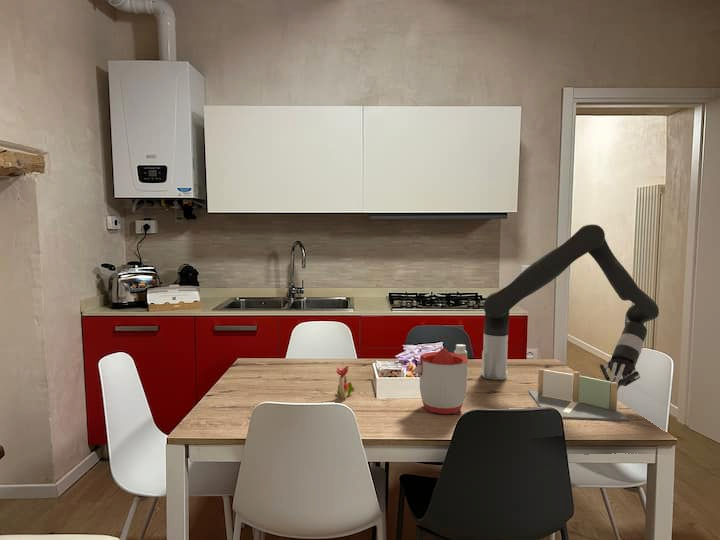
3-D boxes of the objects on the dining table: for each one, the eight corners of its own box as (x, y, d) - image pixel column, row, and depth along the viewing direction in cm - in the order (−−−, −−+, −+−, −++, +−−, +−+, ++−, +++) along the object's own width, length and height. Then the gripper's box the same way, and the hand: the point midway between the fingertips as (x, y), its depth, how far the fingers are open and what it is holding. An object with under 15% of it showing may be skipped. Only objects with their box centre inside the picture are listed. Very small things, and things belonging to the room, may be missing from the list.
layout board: (548, 418, 162) (548, 415, 161) (528, 392, 186) (528, 390, 186) (628, 421, 160) (628, 418, 160) (598, 394, 184) (598, 392, 184)
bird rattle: (353, 405, 177) (355, 387, 185) (351, 380, 172) (354, 363, 180) (335, 405, 178) (337, 387, 186) (333, 380, 173) (336, 362, 180)
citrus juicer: (411, 400, 177) (412, 342, 175) (462, 401, 177) (464, 343, 175) (414, 417, 162) (415, 353, 160) (470, 418, 161) (472, 354, 159)
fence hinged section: (578, 402, 174) (579, 376, 173) (580, 400, 175) (581, 375, 174) (615, 411, 166) (616, 384, 165) (617, 409, 167) (618, 382, 166)
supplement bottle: (467, 366, 220) (468, 344, 219) (466, 370, 214) (466, 347, 214) (454, 365, 221) (455, 343, 220) (452, 368, 216) (453, 346, 215)
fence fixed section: (579, 401, 176) (580, 372, 175) (577, 402, 174) (579, 373, 173) (538, 393, 183) (539, 365, 182) (536, 395, 182) (538, 366, 181)
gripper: (604, 340, 178) (587, 382, 171) (646, 347, 169) (629, 392, 162) (610, 353, 182) (593, 394, 175) (651, 360, 173) (635, 405, 166)
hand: (610, 393), depth 168 cm, fingers closed
